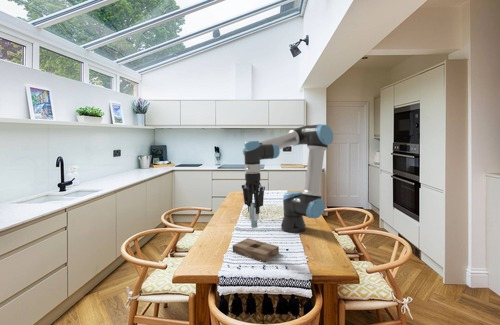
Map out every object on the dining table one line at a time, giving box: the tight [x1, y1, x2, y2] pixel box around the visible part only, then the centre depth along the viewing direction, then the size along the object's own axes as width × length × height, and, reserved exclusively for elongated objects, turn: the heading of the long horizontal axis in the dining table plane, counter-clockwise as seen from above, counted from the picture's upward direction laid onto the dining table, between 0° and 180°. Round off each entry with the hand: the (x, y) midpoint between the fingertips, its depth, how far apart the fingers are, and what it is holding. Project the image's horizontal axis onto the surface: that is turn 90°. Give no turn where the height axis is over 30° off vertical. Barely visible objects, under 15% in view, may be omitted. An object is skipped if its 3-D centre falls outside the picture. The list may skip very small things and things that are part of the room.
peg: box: [250, 202, 258, 229], centre depth 137 cm, size 3×3×12 cm
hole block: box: [232, 237, 280, 263], centre depth 139 cm, size 12×20×4 cm, turn 50°
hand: (254, 219), depth 138 cm, fingers closed on peg, 2 cm apart
